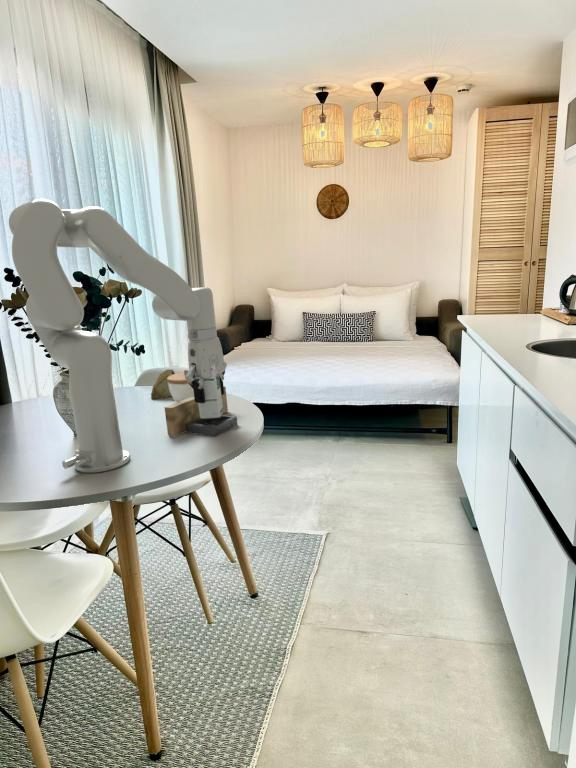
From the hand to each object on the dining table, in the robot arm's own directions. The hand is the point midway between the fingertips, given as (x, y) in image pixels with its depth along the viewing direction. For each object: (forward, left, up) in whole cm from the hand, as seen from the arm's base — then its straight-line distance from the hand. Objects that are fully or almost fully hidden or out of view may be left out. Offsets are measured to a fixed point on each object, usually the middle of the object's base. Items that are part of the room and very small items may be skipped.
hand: (209, 397), depth 144 cm
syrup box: (0, 0, -5) cm, 5 cm away
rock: (+24, +40, -9) cm, 47 cm away
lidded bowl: (+20, +26, -9) cm, 34 cm away
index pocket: (0, 0, -9) cm, 9 cm away
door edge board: (+3, +7, -9) cm, 12 cm away
